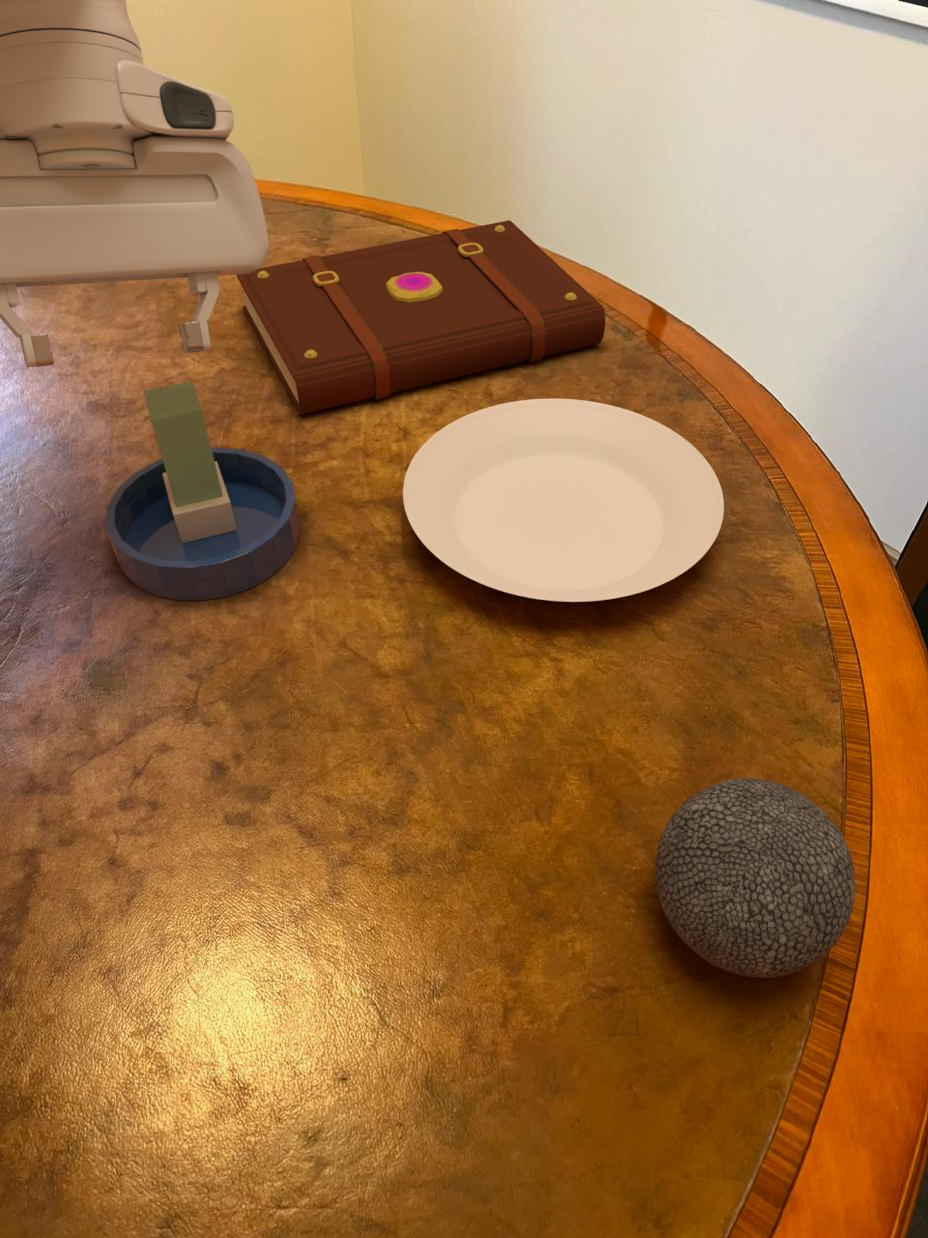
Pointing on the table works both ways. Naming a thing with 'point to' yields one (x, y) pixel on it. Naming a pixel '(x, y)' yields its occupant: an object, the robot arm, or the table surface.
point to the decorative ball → (755, 878)
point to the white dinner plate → (563, 500)
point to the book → (415, 313)
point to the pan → (212, 562)
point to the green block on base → (189, 464)
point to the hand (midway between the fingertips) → (121, 358)
